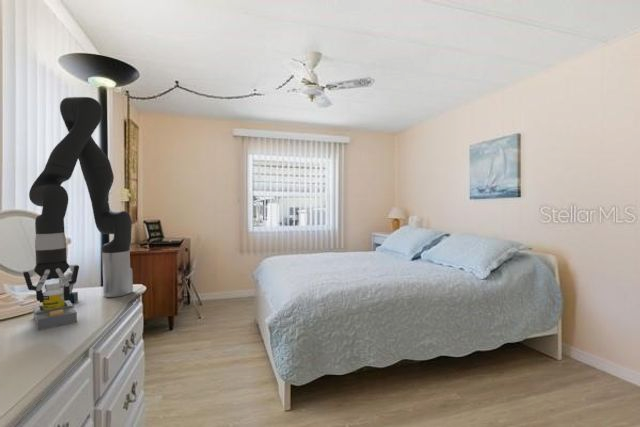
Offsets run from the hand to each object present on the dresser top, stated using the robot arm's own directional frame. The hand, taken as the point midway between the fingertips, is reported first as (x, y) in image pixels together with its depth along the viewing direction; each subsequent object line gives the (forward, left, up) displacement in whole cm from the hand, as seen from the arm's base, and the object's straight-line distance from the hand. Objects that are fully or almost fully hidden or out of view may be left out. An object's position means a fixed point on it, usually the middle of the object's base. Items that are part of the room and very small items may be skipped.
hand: (53, 299), depth 102 cm
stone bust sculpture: (-12, -11, -6) cm, 17 cm away
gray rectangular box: (0, 0, -6) cm, 6 cm away
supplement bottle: (0, 0, -5) cm, 5 cm away
